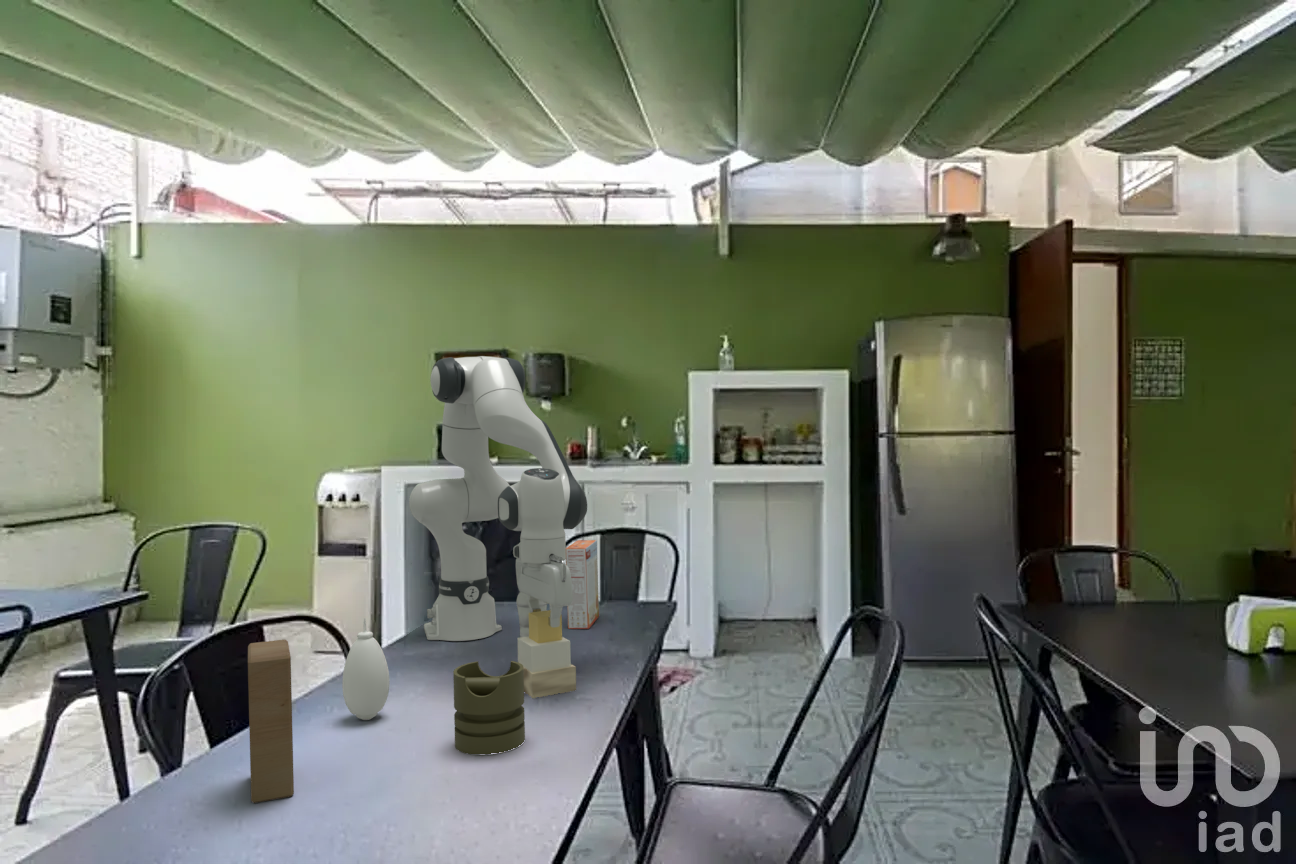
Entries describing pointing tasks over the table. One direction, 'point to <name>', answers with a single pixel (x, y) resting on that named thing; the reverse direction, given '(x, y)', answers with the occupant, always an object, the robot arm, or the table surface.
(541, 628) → the mustard cube
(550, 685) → the birch tower base
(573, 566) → the cracker box
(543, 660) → the painted tower top
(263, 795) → the decorative block
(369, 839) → the table surface
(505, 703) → the piston
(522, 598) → the plastic bottle
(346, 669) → the air blower bulb
